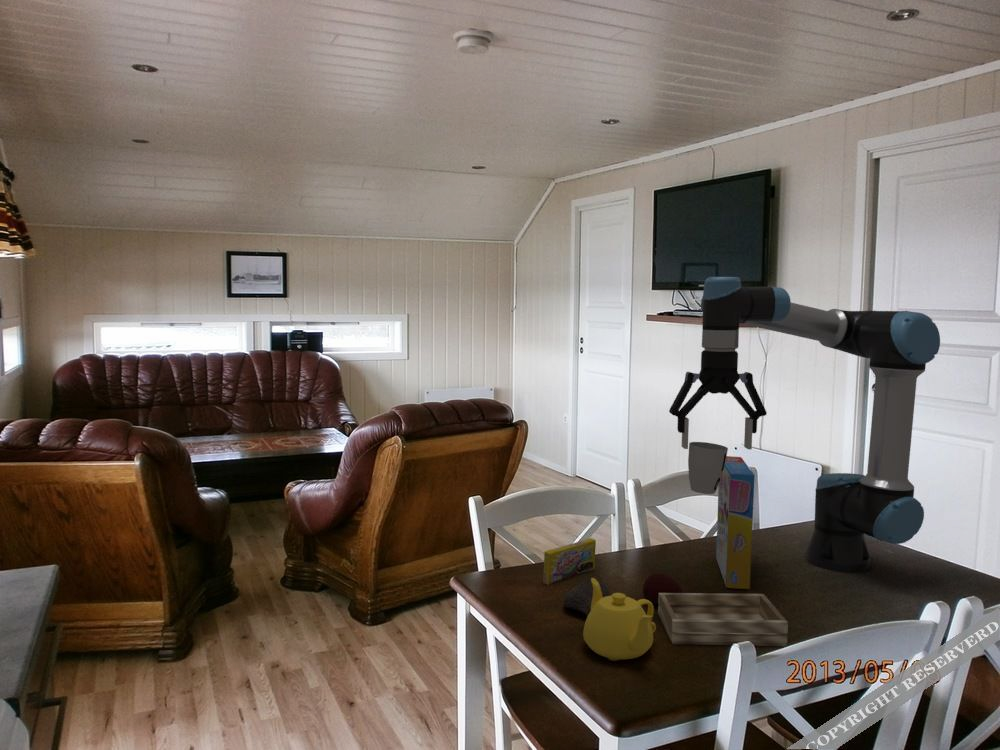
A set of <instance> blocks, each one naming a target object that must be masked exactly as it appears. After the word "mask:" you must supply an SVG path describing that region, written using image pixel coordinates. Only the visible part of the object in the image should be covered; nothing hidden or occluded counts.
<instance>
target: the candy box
mask: <svg viewBox="0 0 1000 750" xmlns="http://www.w3.org/2000/svg"><path fill="white" fill-rule="evenodd" d="M596 542H597V540H596V539H594V538H592V537H589V538H586V539H584V540H583V539H582V540H579V541H576V542H573V543H569V544H566V545H563V546H559V547H555V548H552V549H549V550H545V551H544V553H543V554H544V556H543V574H542V575H543V576H542V577H543V578H542V584H544V585H546V584H547V585H546V586H550V585H553V584H555V583H554V582H556V583H559V582H561V580H562V581H564V579H565V580H567V578H568V579H570V577H571V578H573V576H574V577H577V576H580V575H583V574H586V573H588V572H589V571H590V572H591V571H592V570H593V571H595V566H596ZM585 572H586V573H585ZM582 573H583V574H582ZM579 574H580V575H579ZM576 575H577V576H576ZM558 581H559V582H558ZM552 583H553V584H552ZM549 584H550V585H549Z"/></svg>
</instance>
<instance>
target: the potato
mask: <svg viewBox="0 0 1000 750" xmlns="http://www.w3.org/2000/svg"><path fill="white" fill-rule="evenodd" d="M642 593H643V594H642V595H643V597H644V599H646V600H649V601H650V602H651V603H652V604H654V605H656V606H659V603H658V599H659V593H683V590H682V587H681V585H680V583H679V582H678V581H676V580H675V579H674V578H673V577H671V576H670V575H667V574H666V573H663V572H653V573H652V574H649V576H647V578H646V579H645V580H644V583H643V586H642Z"/></svg>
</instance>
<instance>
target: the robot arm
mask: <svg viewBox="0 0 1000 750" xmlns="http://www.w3.org/2000/svg"><path fill="white" fill-rule="evenodd" d="M703 283H704V284H703V291H702V293H703V294H702V297H701V301H700V307H701V308H700V309H701V312H702V324H701V326H702V328H701V329H702V333H701V348H702V349H703V350H702V351H701V352H700V353H701V355H700V357H701V358H700V370H699V372H698V373H697V372H691V371H686V372H685V376H684V382H683V384H682V386H681V388H680V389H679V391H678V393H677V395H676V397H675V398H674V400H673V402H672V404H671V406H670V407H669V410H668V412H669V414H671V415H672V416H674V417H676V418H677V431H678V433H679V434H680V433H681V448H683V449H684V450H689V425H690V424H689V423H690V418H688V417H687V415H689V413H690V412H691V411H692V410H693V409H694V408H695V407H696V406H697V404H699V402H701V400H702V399H703V398H704V397H705V396H706V395H708V393H710V394H714V395H715V394H723V395H724V394H728V393H730V394H731V396H732V397H733V398H734V399H735V400H736V402H737V403H738V404H739V405H740V406H741V408H742V409H743V410H744V412H746V414H747V415H748V416H747V417H744V438H743V439H744V441H743V447H744V448H746V449H747V450H753V447H752V445H753V434H756V433H757V431H758V420H759V419H760V417H765V416H767V414H768V413H767V410H766V407H765V405H764V404H763V401H762V399H761V397H760V395H759V393H758V391H757V388H756V387H755V384H754V377H753V376H754V375H753V373H751V372H748V371H745V372H744V373H739V372H738V365H739V364H738V363H739V353H738V351H736V349H738V348H739V343H740V342H739V341H740V340H739V335H740V333H739V331H740V324H741V325H744V326H745V325H746V326H750V327H755V328H759V329H764V330H768V331H772V332H777V333H781V334H785V335H786V334H787V335H791V336H794V337H799V338H800V337H801V338H804V339H807V340H812V341H813V340H814V341H818V342H819V344H820V345H822V346H823V347H826V348H830V349H833V350H838V351H840V352H843V353H847V354H850V355H853V356H856V357H861V358H865V359H869V364H868V368H869V369H870V370H871V371H872V373H874V375H875V376H874V389H873V402H872V413H871V414H872V415H871V424H870V425H871V426H870V437H869V439H870V440H869V447H868V460H867V472H866V474H865V475H864V474H860V473H847V472H845V473H843V472H839V473H838V472H837V473H836V472H834V473H824V474H821V475H820V476H818V478H817V480H816V487H815V497H814V499H815V501H814V530H813V533H812V534H811V537H810V539H809V541H808V544H807V547H806V548H805V560H806V561H807V562H808V563H810V564H811V565H813V566H815V567H817V568H821V569H825V570H828V571H834V572H839V573H861V572H865V571H867V570H869V569H870V568H871V556H870V552H869V550H868V545H867V543H866V539H865V535H867V536H869V537H872V538H874V539H876V540H878V541H880V542H885V543H890V544H892V545H902V544H905V543H907V542H909V541H910V540H912V539H913V537H914V536H915V535H917V533H919V531H920V529H921V528H922V525H923V524H924V520H925V519H924V518H925V509H924V506H922V503H921V502H920V501H919V500H918V499H916V498H915V496H914V495H915V485H914V484H913V483H912V482H911V481H910V480H909V470H910V469H909V467H910V457H911V446H912V435H913V426H914V425H913V424H914V413H915V401H916V400H915V399H916V391H917V380H918V377H919V376H920V375H922V374H923V373H924V372H925V371H926V364H928V363H930V362H931V361H933V360H934V359H935V357H936V356H935V355H938V353H939V350H940V347H941V335H940V331H939V329H938V326H937V325H936V323H935V322H934V321H933V319H932V318H931V316H928V315H926V314H924V313H923V312H917V311H910V310H903V311H902V310H900V311H899V310H843V309H839V308H831V309H828V310H824V309H820V308H817V307H811V306H807V305H805V304H804V305H803V304H799V303H795V302H791V301H792V300H791V296H790V294H789V292H788V291H787V290H786V289H785V288H783V287H778V286H742V281H741V279H740V277H738V276H709V277H707V278H706V279H705V280H704V282H703ZM697 380H699V381H700V383H701V385H700V386H699V387H698V388H697V390H696V392H694V393H693V395H692V396H691V397H690V398H689V399H688V401H687V402H686V403H685V404H684V405H683V403H684V401H685V400H686V398H687V395H688V393H689V392H690V390H691V388H692V386H693V384H694V383H696V381H697ZM739 380H740V382H741V383H743V384H744V387H745V388H746V391H747V393H748V396H749V398H750V399H751V402H752V404H753V406H754V408H755V409H754V408H753V407H752V406H751V405H750V403H749V402H748V401H747V399H746V398H745V397H744V396H743V395H742V393H741V392H740V390H739V389H738V388H737V386H736V384H737V383H738V382H739ZM682 405H683V406H682Z"/></svg>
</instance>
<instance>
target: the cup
mask: <svg viewBox="0 0 1000 750" xmlns="http://www.w3.org/2000/svg"><path fill="white" fill-rule="evenodd" d="M728 450H729V448H728V447H727V446H725V445H722V444H718V443H712V442H704V441H690V442H688V457H687V465H688V467H687V468H688V469H687V470H688V480H689V485H690V486H689V487H690V490H691V491H693V492H695V493H699V494H704V495H713V494H715V493H716V492H717V489H718V487H719V483H720V480H721V477H722V474H723V470H724V467H725V462H726V457H727V456H728Z"/></svg>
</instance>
